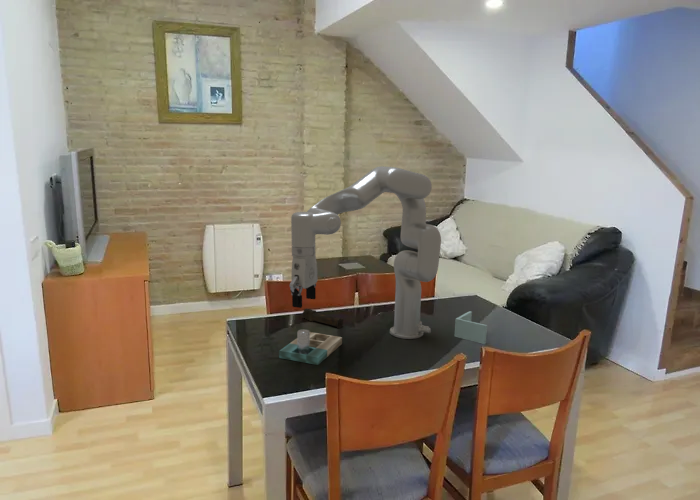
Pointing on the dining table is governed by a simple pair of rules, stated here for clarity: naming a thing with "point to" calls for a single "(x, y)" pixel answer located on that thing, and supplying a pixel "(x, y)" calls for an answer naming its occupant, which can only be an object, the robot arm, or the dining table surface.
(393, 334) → the robot arm
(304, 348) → the peg
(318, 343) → the hole board
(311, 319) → the hand tool
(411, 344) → the dining table surface
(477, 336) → the right angle wall
